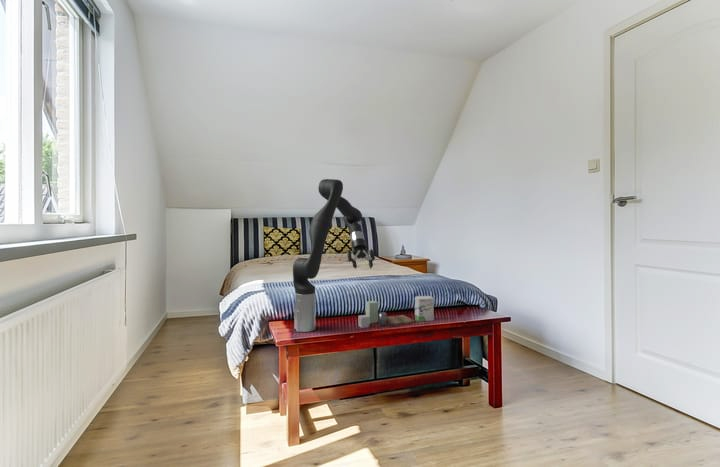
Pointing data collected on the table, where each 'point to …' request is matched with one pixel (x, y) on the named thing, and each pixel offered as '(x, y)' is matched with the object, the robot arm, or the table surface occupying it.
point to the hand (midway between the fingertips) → (363, 267)
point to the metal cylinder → (382, 319)
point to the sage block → (372, 311)
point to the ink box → (424, 308)
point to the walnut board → (399, 320)
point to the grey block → (363, 321)
